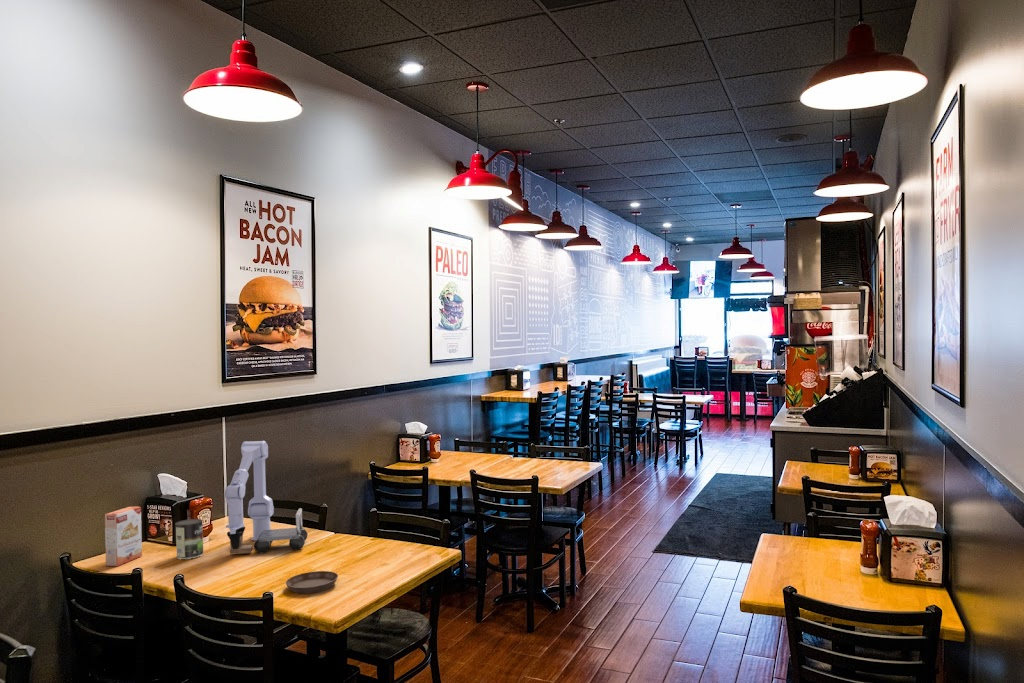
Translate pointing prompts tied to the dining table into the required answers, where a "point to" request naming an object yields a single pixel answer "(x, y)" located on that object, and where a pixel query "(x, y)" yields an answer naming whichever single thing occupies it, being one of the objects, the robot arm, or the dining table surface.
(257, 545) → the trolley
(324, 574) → the plant saucer
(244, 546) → the brown l-shaped block
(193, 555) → the coffee can
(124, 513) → the cracker box
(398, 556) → the dining table surface
